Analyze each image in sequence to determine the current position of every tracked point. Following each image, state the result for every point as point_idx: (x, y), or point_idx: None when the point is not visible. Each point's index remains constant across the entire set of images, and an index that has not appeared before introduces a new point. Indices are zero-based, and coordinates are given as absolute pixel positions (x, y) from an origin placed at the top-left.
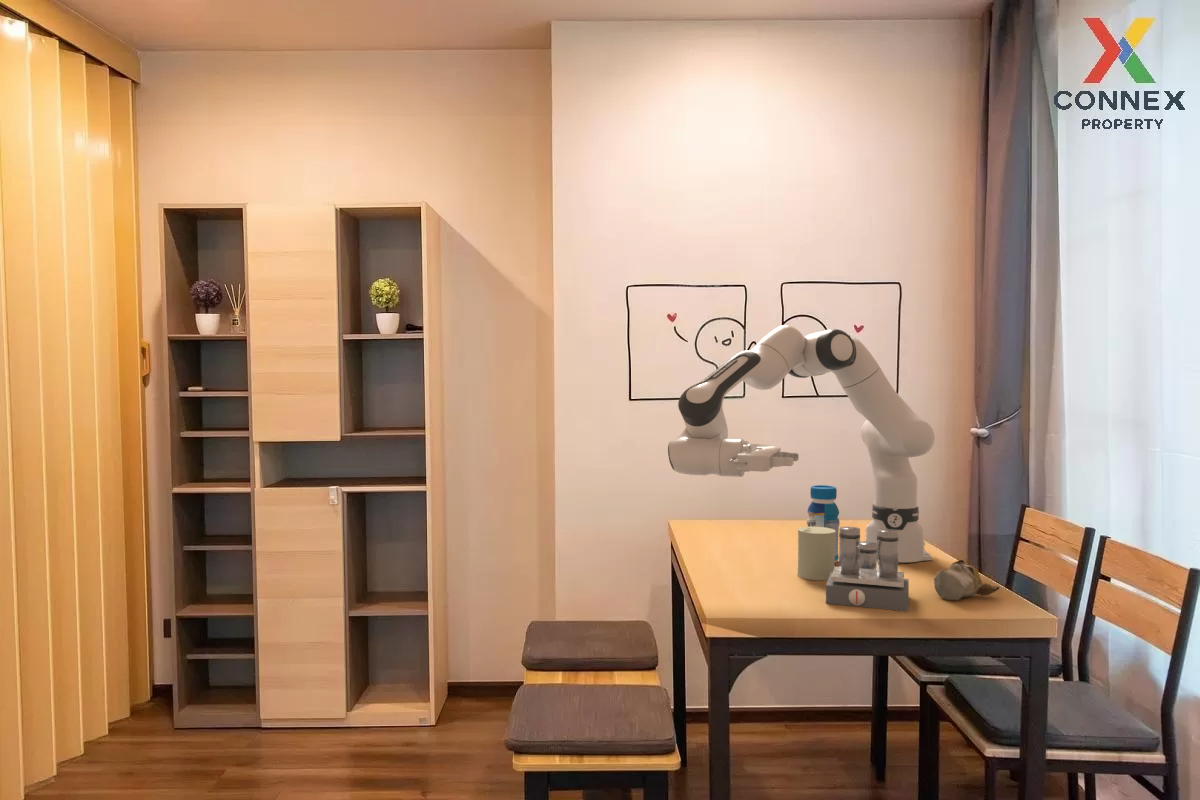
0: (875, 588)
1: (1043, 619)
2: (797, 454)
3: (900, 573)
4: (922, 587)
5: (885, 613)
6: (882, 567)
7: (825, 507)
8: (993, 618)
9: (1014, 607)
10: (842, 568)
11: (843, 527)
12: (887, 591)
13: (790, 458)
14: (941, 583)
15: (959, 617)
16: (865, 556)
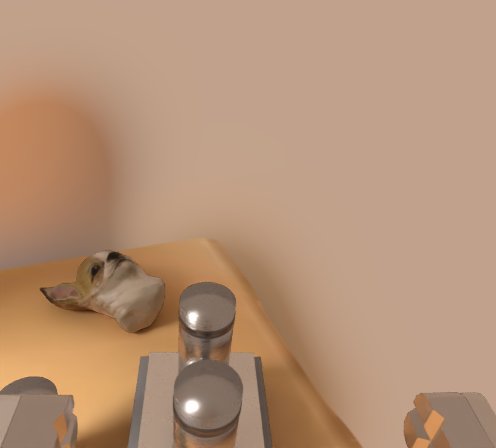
0: None
1: (215, 240)
2: (63, 395)
3: (167, 358)
4: (53, 358)
5: (292, 420)
6: None
7: None
8: (237, 281)
9: (164, 257)
10: None
11: (197, 406)
12: (264, 393)
13: (488, 403)
14: (155, 309)
15: (254, 316)
16: None
